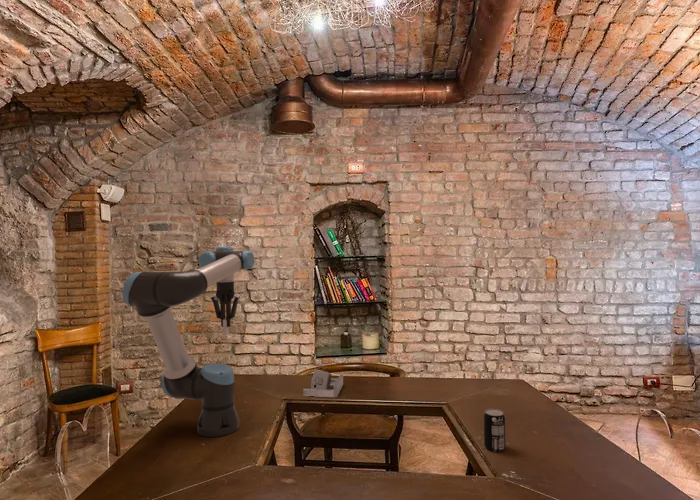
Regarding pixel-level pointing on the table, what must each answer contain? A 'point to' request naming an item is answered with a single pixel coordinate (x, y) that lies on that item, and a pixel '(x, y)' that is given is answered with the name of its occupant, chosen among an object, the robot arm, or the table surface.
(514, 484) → the table surface
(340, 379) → the aluminium bracket
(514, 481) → the table surface
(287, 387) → the table surface
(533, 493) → the table surface
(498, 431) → the beverage can
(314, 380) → the electrical switch
